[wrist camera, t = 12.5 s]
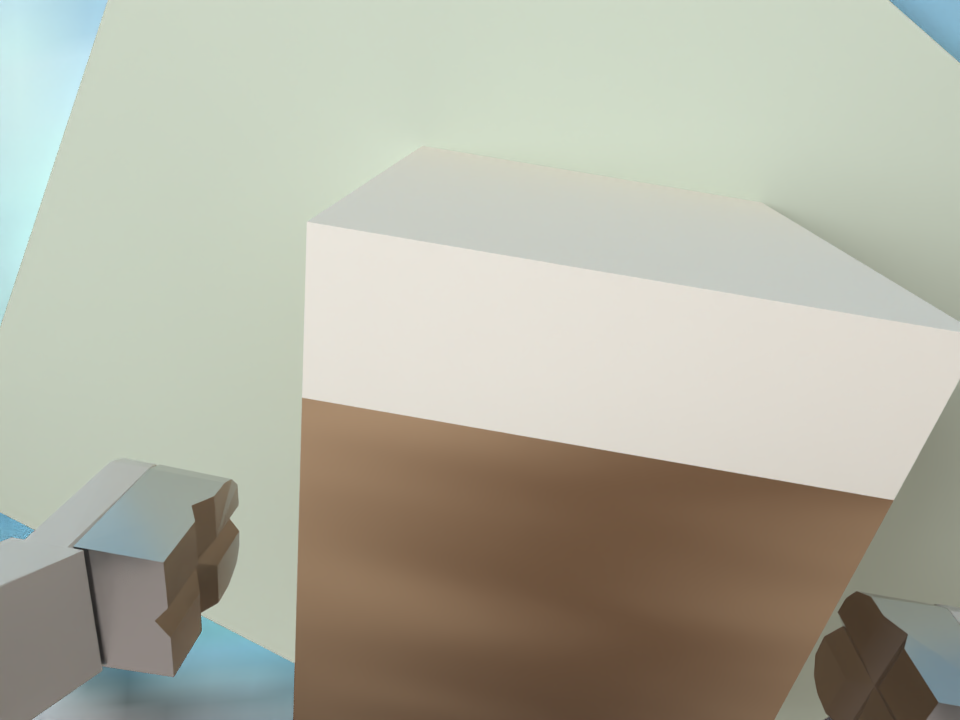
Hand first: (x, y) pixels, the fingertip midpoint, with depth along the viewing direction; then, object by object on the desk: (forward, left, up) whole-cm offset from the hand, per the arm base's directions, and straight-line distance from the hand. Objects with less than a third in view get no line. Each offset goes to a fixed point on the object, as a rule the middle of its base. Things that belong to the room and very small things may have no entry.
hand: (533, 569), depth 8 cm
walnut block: (+3, -6, -1) cm, 6 cm away
